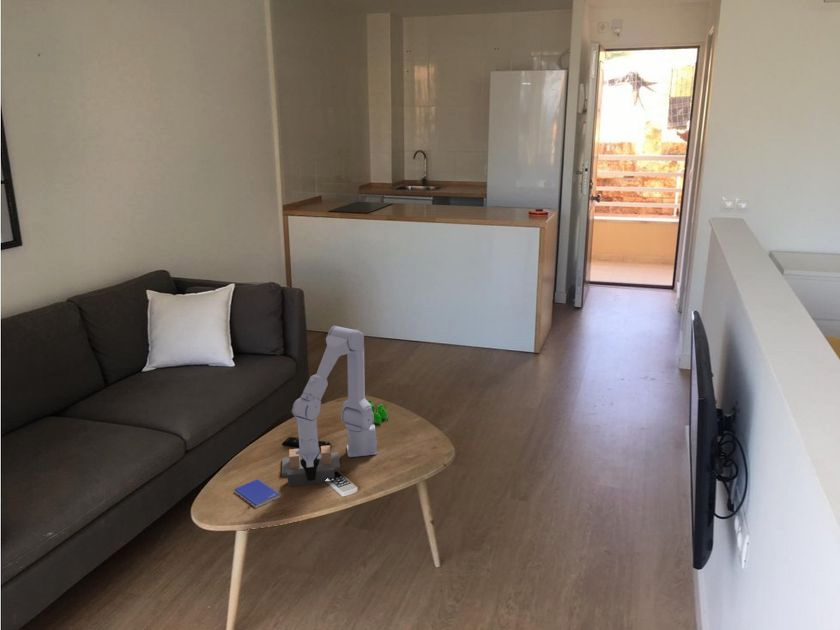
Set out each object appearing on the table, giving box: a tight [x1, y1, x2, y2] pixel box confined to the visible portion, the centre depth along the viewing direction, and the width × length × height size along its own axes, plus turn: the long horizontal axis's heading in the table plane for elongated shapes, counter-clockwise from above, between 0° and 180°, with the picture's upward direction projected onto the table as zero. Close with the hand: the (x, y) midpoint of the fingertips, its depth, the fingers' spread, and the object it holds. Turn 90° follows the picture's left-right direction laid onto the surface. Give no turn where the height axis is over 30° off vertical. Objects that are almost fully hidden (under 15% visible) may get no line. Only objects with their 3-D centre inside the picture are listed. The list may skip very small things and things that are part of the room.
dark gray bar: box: [287, 465, 336, 487], centre depth 202 cm, size 14×3×4 cm, turn 100°
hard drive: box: [234, 478, 281, 509], centre depth 196 cm, size 2×8×12 cm
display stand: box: [281, 445, 341, 477], centre depth 211 cm, size 18×10×5 cm, turn 100°
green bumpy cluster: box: [367, 400, 390, 425], centre depth 244 cm, size 15×15×7 cm
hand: (311, 476), depth 202 cm, fingers closed on dark gray bar, 3 cm apart
